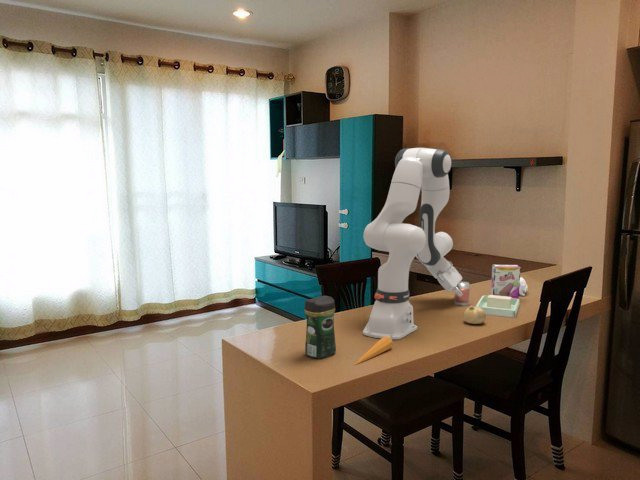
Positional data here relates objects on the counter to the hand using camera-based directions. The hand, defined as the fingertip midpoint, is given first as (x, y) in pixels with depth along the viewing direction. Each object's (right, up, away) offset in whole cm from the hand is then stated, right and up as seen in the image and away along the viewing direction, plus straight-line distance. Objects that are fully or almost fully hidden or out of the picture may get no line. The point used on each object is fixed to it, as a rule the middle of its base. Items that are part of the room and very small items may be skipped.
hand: (463, 293), depth 212 cm
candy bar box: (+20, -5, +6) cm, 22 cm away
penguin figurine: (+33, -3, +21) cm, 39 cm away
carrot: (-45, -14, -56) cm, 73 cm away
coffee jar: (-61, -14, -54) cm, 83 cm away
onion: (-3, -9, -23) cm, 25 cm away
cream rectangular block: (+14, -5, -3) cm, 15 cm away
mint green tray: (+12, -6, -7) cm, 15 cm away
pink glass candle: (-1, -5, +1) cm, 5 cm away
